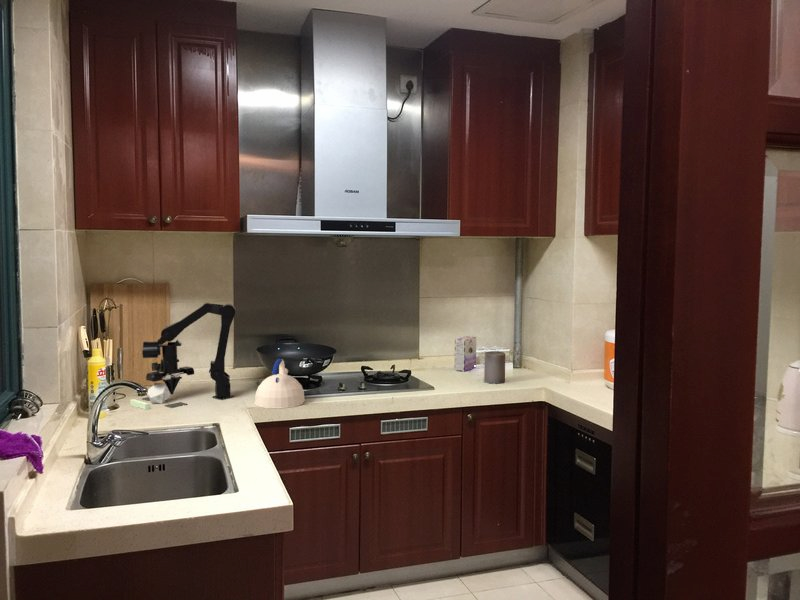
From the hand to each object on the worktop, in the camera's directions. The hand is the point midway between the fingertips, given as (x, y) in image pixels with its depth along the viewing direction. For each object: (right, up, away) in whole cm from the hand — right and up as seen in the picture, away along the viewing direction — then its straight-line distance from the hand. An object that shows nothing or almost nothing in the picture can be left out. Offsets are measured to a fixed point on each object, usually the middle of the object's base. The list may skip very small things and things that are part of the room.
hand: (171, 394), depth 266 cm
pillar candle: (+139, 0, +36) cm, 143 cm away
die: (-4, -3, -3) cm, 6 cm away
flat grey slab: (-5, -3, -5) cm, 8 cm away
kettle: (+45, -3, -3) cm, 46 cm away
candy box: (+128, +3, +67) cm, 145 cm away
